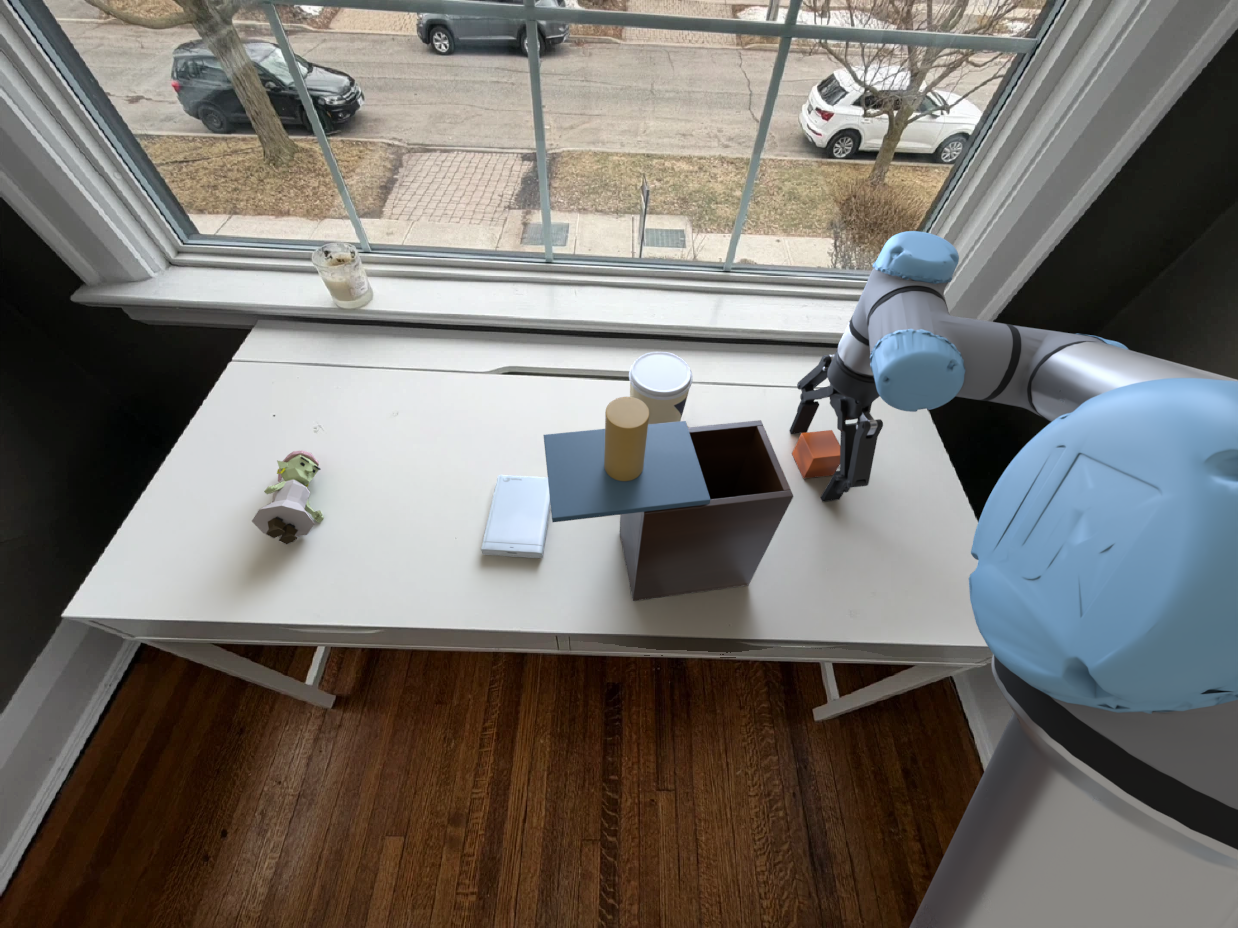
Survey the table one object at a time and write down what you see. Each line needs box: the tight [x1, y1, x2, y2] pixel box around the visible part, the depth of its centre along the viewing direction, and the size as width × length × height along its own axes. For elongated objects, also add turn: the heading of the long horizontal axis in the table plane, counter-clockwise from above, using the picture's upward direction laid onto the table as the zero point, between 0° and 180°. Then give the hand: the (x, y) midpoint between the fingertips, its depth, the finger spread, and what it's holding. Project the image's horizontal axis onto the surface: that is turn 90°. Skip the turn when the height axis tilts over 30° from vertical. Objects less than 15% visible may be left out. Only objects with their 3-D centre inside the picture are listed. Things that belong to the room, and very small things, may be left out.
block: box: [791, 429, 840, 480], centre depth 83 cm, size 5×5×5 cm
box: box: [619, 419, 794, 602], centre depth 66 cm, size 11×16×21 cm
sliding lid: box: [543, 396, 711, 523], centre depth 53 cm, size 11×16×9 cm
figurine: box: [251, 449, 325, 545], centre depth 75 cm, size 9×7×15 cm
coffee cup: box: [628, 351, 693, 424], centre depth 84 cm, size 9×9×12 cm
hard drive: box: [480, 474, 551, 559], centre depth 77 cm, size 2×8×12 cm
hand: (813, 463), depth 85 cm, fingers open, 13 cm apart
